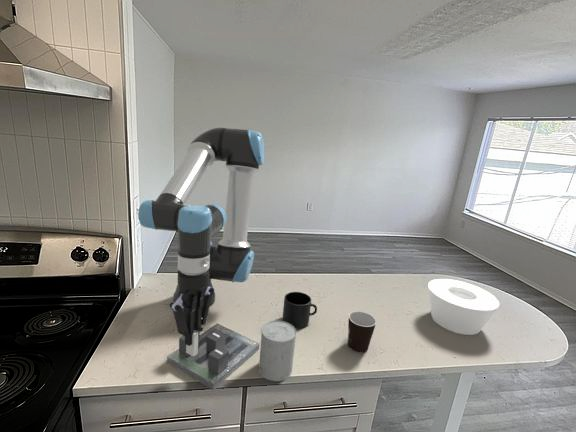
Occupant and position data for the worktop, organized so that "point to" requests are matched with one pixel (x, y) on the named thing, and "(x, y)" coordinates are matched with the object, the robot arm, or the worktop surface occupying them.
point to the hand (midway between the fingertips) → (191, 353)
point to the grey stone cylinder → (277, 350)
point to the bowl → (460, 305)
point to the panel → (198, 364)
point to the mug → (297, 309)
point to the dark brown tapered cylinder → (360, 330)
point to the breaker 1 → (183, 346)
